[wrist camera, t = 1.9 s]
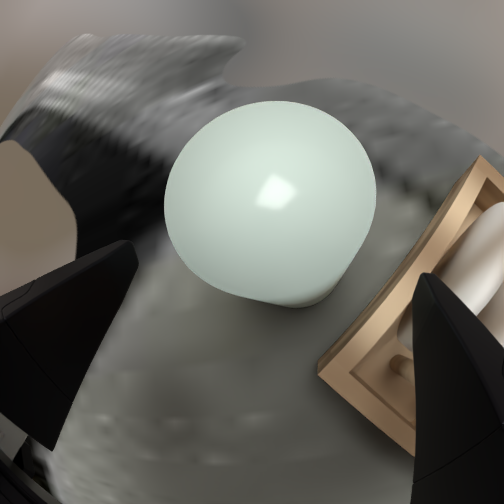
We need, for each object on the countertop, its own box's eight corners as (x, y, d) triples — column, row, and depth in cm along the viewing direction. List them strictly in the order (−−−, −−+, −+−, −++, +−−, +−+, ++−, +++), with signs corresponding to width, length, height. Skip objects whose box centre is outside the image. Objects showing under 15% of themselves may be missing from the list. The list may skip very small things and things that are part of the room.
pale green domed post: (299, 327, 17) (269, 349, 6) (233, 265, 19) (130, 204, 8) (361, 257, 17) (416, 175, 7) (292, 200, 19) (258, 76, 8)
